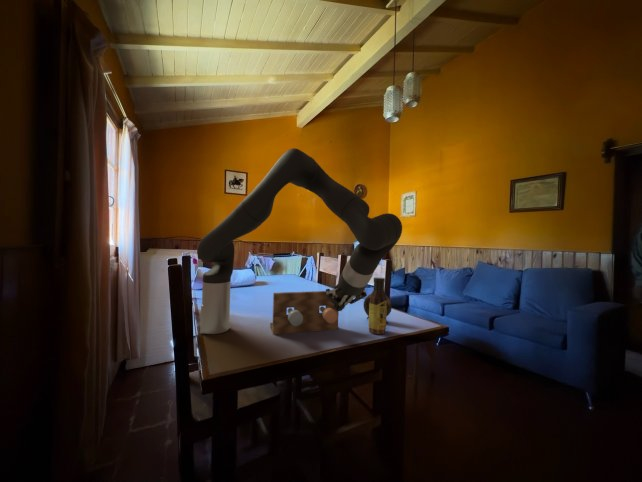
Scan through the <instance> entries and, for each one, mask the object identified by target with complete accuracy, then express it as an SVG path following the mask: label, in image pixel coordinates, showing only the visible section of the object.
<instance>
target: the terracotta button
mask: <svg viewBox="0 0 642 482" xmlns="http://www.w3.org/2000/svg"><path fill="white" fill-rule="evenodd" d="M319 312H320V313H323V314H322V316H323V318H324V319H325V320H326V321H327V322H328V323H334V322H335V321H336V320H337V317H338V318H339V314H338V315H337V312H336V311H334V310H333V309H331V308H326V309H325V306H320V309H319Z"/></svg>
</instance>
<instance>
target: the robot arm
mask: <svg viewBox="0 0 642 482" xmlns="http://www.w3.org/2000/svg"><path fill="white" fill-rule="evenodd" d="M288 184H292V185H294V186H297V187H299V188H303V189H304V190H307V191H309V192H311V193H313V194H314V195H316V196H317V197H318V198H319V199H321V201H323V203H324V204H325V206H326V207H327V208H328V210H329V211H331V212H332V213H333V214H334V215H335V216H336V217H338V218H339V219H340V220H341V221H342V222H343V223H346V226H348V228H349V230H350V232H351V233H352V235H353V236H354V238H355V239H356V240H357V242H358V243H359V244H357V245H356V246H355V247H354V249H353V251H352V254H351V256H350V257H349V259H348V260H347V261H346V264H345V265H344V268H343V270H342V272H341V273H340V276H339V278H338V281H337V283H336V285H335V286H334V287H333V289H330V288H326V289H325V291H326V294H327V298H328V299H329V300H330V301H331V302H332V303H333V304H334V306H335V310H336V311H339V312H342V311H343V310H344V309H345V307H346V306H347V305H348V304H350V305H353V304H355V303H356V302H357V303H358V301H360V300H362V299H363V298H364V299H365V298H366V297H367V296H368V293H367V291H366V287H367V286H368V285H369V283H370V281H371V279H372V278H373V276H374V273H375V271H376V270H377V268H378V266H379V265H380V262H381V261H382V260H383V258H384V257H385V256H386V255H387V254H388V253H389V252H390V251H391V250H392V249H393V248H394V246H395V245H396V244H397V243H398V241H399V240H400V239H401V236H402V233H403V224H402V221H401V220H400V218H399V217H398V216H397V215H396V214H393V213H391V212H390V213H388V212H387V213H386V212H385V213H382V214H379V215H377V216H374V217H369V214H370V206H369V203H368V202H366V200H364V199H363V198H361V196H359V195H358V194H356V193H354V192H353V191H351V190H350V189H349V188H348V187H346V186H344V185H342V184H341V183H339V182H338V181H335V179H334V178H332V177H331V176H330V175H329V174H328V173H326V171H325V170H324V169H323V168H322V167H321V165H319V163H318V162H317V161H316V160H315V159H314V158H313V157H312V156H310V155H308V154H307V153H305V152H304V151H303V150H301V149H299V148H294V147H293V148H290V149H288V150H286V151H284V152H283V154H282V155H281V156H280V157H279V158H278V160H277V161H276V162H275V163H274V165H273V166H272V167H271V169H270V170H269V171H268V172H267V174H266V175H265V176H264V177H263V179H262V180H261V181H260V182H259V183H258V184H257V185H256V186H255V187H254V189H252V191H251V192H250V193H249V194H248V195H247V196H246V197H245V198H244V199H242V201H240V202H239V203H238V205H236V207H235V208H234V209H233V210H232V211H231V212H230V214H228V215H227V216H226V217H225V218H224V219H223V220H222V221H221V222H220V223H219V224H218V225H217V226H216V227H214V228H213V229H212V230H210V231H209V232H208V233H207V234H206V235H205V236H203V237H202V239H201V240H200V241H199V243H198V245H197V249H196V254H197V257H198V258H199V259H200V260H201V261H202V262H204V263H213V264H214V265H213V266H212V267H211V269H209V270H208V271H205V272H204V273H203V274H202V288H201V291H202V292H201V295H202V298H201V299H202V300H201V305H200V331H199V333H200V334H207V335H217V334H218V335H219V334H222V333H225V332H227V331H229V330H230V320H231V319H230V316H231V315H230V313H231V312H230V311H231V278H232V275H233V272H234V262H235V243H234V242H233V241H234V240H237V239H239V238H241V237H243V236H246V235H248V234H250V233H252V232H253V231H255V230H257V229H258V228H259V227H261V226H262V224H263V223H264V222H265V221H267V220H268V219H269V217H270V215H271V214H272V211H273V207H274V203H275V199H276V196H277V195H278V194H279V192H280V191H281V190H282V189H284V187H286V186H287V185H288ZM335 293H336V294H337V297H336V296H335Z"/></svg>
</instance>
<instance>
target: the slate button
mask: <svg viewBox="0 0 642 482" xmlns="http://www.w3.org/2000/svg"><path fill="white" fill-rule="evenodd" d="M287 313H288V314H287V315H288V320H289V321H290V323H291V324H292V325H294V326H298V325H300V324H301V323H302V321H303V316H302V314H301V313H300V312H299V311H298V310H294V309H292V308H287Z"/></svg>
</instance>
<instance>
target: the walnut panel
mask: <svg viewBox="0 0 642 482" xmlns="http://www.w3.org/2000/svg"><path fill="white" fill-rule="evenodd" d="M335 296H336V297H337V294H336V293H335ZM272 299H273V300H272V322H270V324H269V328H270V330H271V332H272V335H283V334H295V333H297V334H298V333H307V332H321V331H331V330H332V331H334V330H339V312H340V311H336V310H335V306H334V304H333V303H332V302H331V301H330V300H329V299H328V298H327V294H326V290H319V291H317V290H315V291H287V292H285V291H284V292H273V297H272ZM320 307H324V308H325V309H326V308H331V309H333V310H334V311H336V312H337V315H338V317H337V320H336V321H335V322H334V323H328V322H327V321H326V320H325V319H324V318H323V316H322V314H323V313H322V312H320ZM289 308H291V309H292V308H293V310H298V311H299V312H300V313H301V314H302V316H303V321H302V323H301V324H300V325H298V326H294V325H292V324H291V323H290V321H289V320H288V314H287V313H288V309H289Z"/></svg>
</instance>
